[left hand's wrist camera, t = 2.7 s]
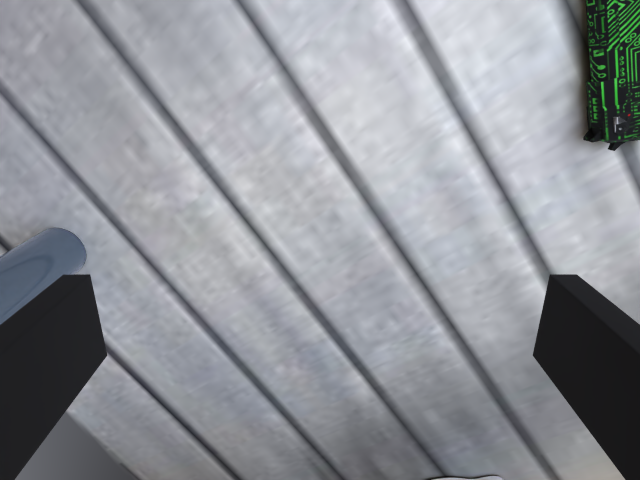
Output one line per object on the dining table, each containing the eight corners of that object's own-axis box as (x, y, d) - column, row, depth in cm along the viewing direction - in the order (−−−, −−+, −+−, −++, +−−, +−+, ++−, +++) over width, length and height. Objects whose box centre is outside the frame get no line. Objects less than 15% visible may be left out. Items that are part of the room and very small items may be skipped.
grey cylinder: (25, 251, 42) (-150, 359, 27) (53, 217, 41) (-114, 309, 25) (68, 283, 44) (-76, 404, 28) (96, 251, 42) (-37, 359, 27)
